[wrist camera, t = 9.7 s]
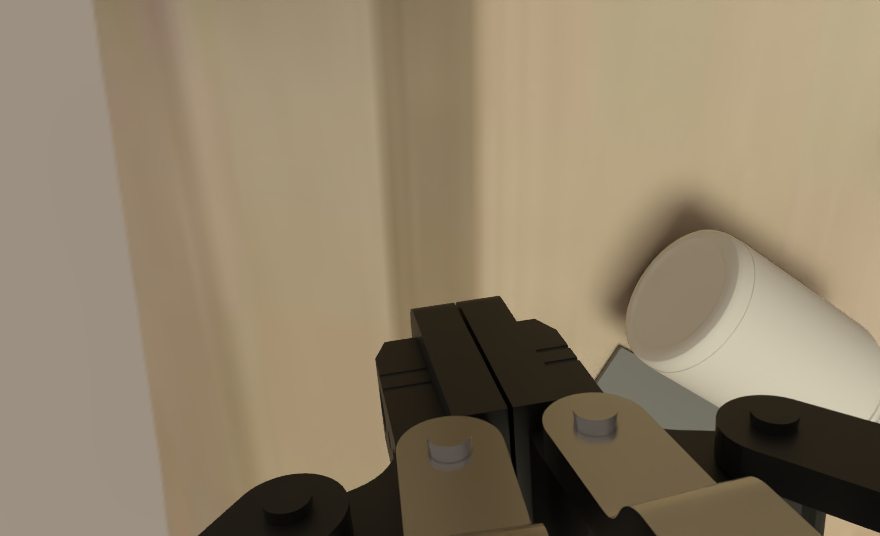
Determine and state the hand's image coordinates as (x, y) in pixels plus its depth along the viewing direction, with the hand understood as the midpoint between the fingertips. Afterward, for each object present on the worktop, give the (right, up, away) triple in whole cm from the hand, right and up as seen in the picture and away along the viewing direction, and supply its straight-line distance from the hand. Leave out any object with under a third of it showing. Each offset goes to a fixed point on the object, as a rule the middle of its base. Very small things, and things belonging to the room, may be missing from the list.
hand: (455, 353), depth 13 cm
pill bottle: (+12, 0, +27) cm, 30 cm away
